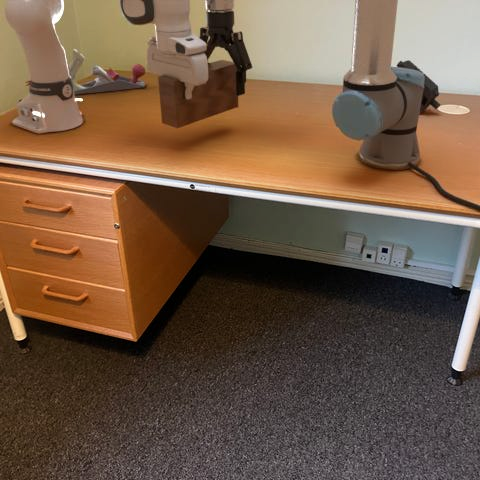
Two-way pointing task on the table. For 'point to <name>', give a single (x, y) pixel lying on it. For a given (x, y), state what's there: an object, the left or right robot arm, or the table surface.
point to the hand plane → (104, 78)
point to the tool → (429, 88)
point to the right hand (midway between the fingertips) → (223, 90)
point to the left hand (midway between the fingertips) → (178, 95)
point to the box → (199, 96)
